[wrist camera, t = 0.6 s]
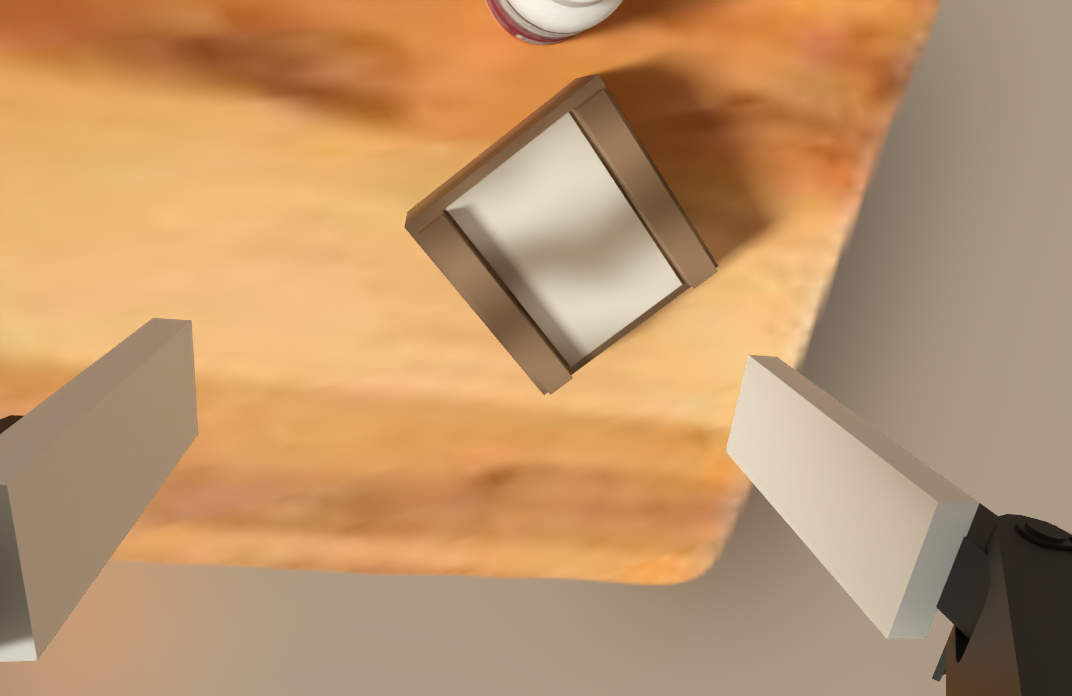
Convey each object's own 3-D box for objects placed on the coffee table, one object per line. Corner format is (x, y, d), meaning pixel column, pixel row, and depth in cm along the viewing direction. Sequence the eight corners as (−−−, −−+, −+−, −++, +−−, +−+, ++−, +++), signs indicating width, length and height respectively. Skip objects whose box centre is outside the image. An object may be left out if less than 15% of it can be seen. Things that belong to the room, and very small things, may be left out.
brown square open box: (407, 212, 37) (403, 232, 31) (576, 78, 36) (606, 72, 30) (530, 362, 41) (548, 406, 35) (684, 247, 40) (729, 272, 34)
